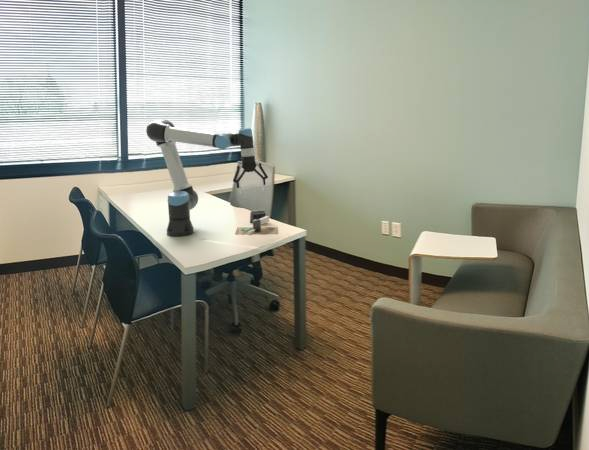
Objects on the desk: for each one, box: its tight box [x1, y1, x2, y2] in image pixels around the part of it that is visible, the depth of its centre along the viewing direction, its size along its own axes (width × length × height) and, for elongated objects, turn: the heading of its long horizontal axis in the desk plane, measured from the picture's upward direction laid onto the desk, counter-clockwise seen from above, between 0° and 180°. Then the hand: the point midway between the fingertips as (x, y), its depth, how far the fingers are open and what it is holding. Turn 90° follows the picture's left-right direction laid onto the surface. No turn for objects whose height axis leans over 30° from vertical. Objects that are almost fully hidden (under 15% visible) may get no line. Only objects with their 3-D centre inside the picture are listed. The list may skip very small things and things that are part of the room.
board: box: [234, 226, 279, 236], centre depth 280 cm, size 24×16×2 cm, turn 92°
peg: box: [247, 215, 270, 233], centre depth 280 cm, size 22×4×6 cm, turn 152°
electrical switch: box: [249, 209, 266, 224], centre depth 298 cm, size 9×5×9 cm, turn 113°
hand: (251, 192), depth 284 cm, fingers open, 13 cm apart
